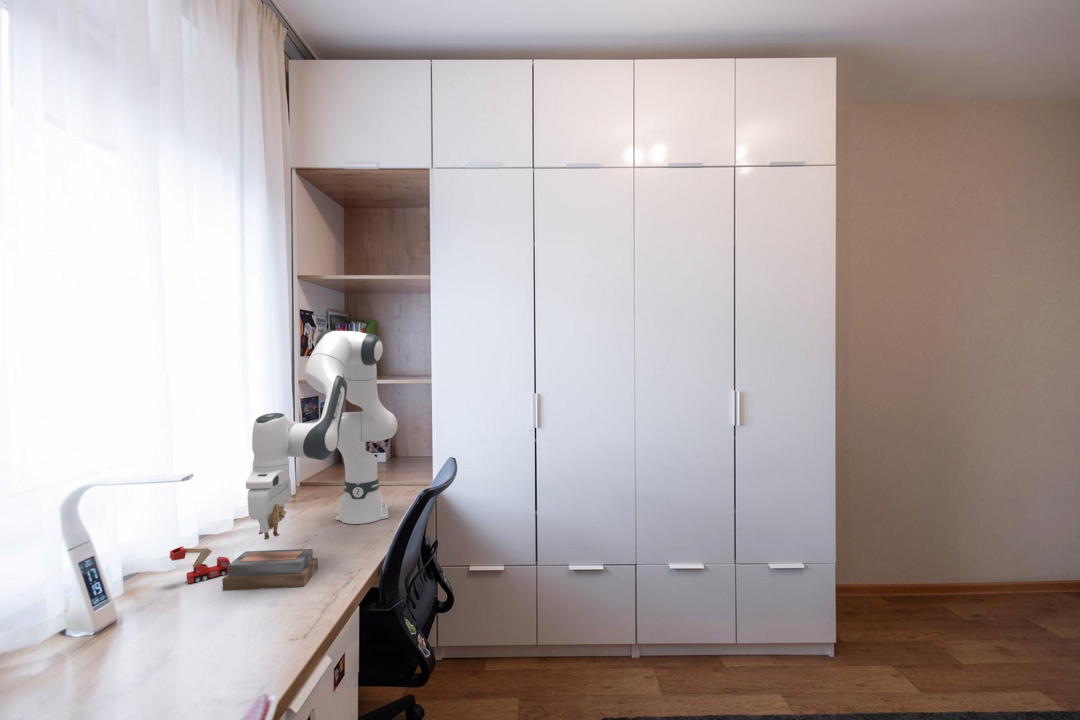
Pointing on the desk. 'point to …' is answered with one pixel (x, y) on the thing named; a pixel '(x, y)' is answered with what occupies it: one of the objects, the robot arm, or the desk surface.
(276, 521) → the lion figurine
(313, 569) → the plinth
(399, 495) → the desk surface
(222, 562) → the toy fire truck
